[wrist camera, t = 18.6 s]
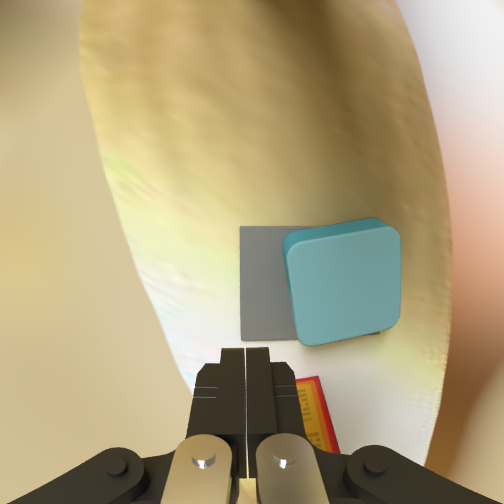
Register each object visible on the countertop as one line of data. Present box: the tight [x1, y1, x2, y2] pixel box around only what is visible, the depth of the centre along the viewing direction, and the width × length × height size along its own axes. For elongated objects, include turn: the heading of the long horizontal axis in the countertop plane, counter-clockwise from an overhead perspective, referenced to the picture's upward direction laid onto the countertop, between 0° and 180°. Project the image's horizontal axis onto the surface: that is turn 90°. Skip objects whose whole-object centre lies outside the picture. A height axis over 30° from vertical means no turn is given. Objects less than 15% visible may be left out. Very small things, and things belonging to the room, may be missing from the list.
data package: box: [282, 218, 401, 346], centre depth 33 cm, size 12×4×12 cm
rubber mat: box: [240, 226, 397, 340], centre depth 36 cm, size 14×18×1 cm
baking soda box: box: [296, 376, 341, 454], centre depth 35 cm, size 10×6×16 cm
